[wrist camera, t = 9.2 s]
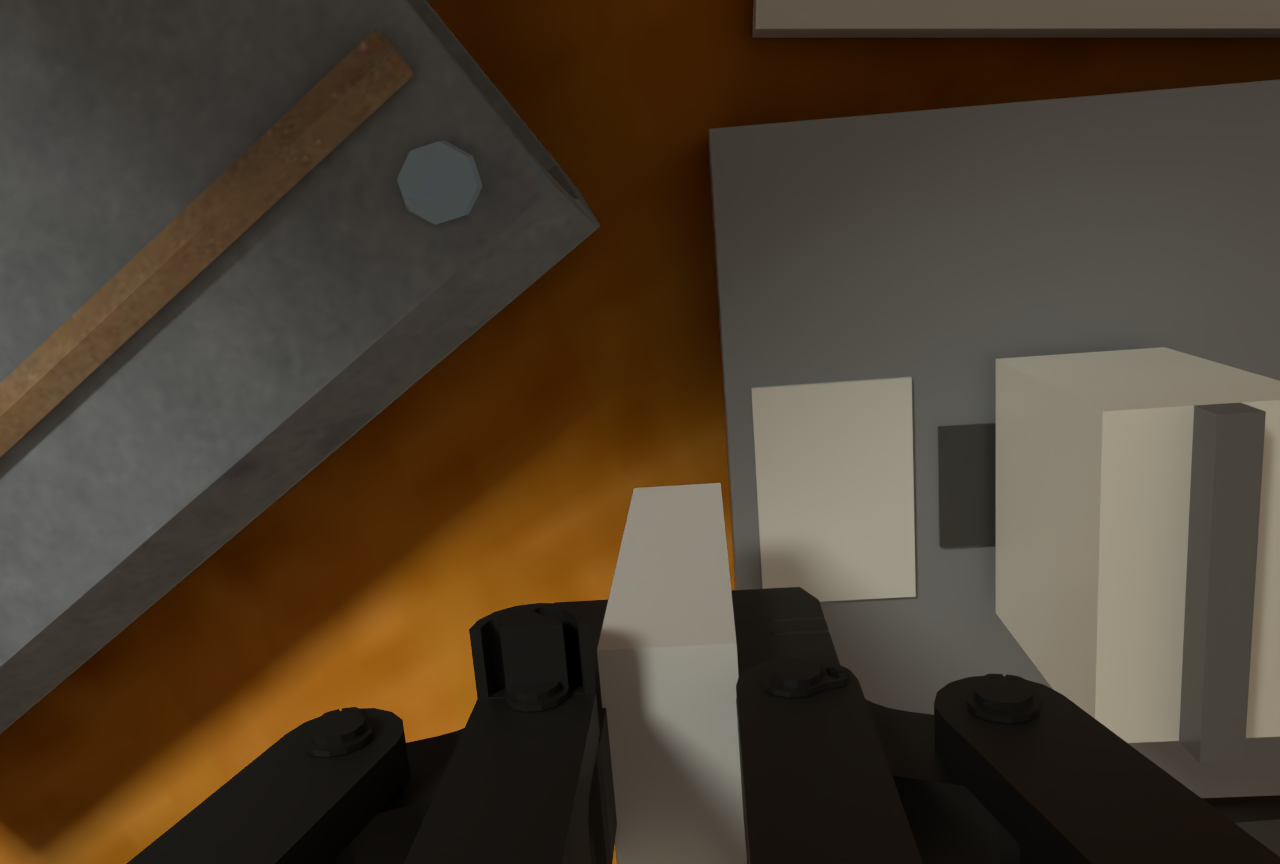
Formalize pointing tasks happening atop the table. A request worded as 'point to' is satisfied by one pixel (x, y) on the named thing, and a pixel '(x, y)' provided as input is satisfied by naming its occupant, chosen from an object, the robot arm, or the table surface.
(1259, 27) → the bar
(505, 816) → the robot arm
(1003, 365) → the lever
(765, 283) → the grey flat rectangular block
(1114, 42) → the table surface
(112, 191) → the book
